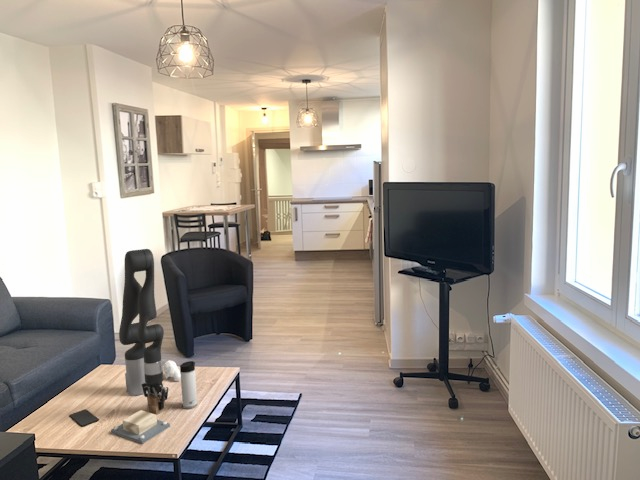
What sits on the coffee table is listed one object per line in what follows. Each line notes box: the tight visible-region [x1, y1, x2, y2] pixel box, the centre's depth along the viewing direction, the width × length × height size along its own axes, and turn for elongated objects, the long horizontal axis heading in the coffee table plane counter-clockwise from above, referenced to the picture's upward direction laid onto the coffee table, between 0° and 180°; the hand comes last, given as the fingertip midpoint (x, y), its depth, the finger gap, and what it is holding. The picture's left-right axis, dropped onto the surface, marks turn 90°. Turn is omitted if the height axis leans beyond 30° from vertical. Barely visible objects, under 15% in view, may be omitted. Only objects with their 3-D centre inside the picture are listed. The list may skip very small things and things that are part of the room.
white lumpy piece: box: [162, 359, 181, 382], centre depth 240 cm, size 6×8×12 cm
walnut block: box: [146, 393, 166, 416], centre depth 207 cm, size 5×5×7 cm
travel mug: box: [179, 360, 198, 410], centre depth 210 cm, size 6×7×20 cm
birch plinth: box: [122, 409, 158, 435], centre depth 192 cm, size 9×9×4 cm
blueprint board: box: [110, 419, 171, 445], centre depth 192 cm, size 18×14×2 cm
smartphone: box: [68, 409, 100, 428], centre depth 203 cm, size 7×1×15 cm
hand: (156, 407), depth 207 cm, fingers closed on walnut block, 5 cm apart
